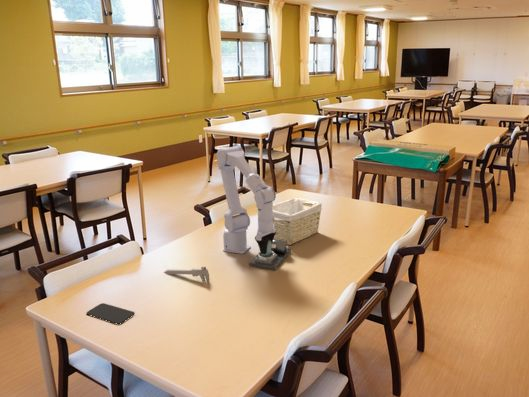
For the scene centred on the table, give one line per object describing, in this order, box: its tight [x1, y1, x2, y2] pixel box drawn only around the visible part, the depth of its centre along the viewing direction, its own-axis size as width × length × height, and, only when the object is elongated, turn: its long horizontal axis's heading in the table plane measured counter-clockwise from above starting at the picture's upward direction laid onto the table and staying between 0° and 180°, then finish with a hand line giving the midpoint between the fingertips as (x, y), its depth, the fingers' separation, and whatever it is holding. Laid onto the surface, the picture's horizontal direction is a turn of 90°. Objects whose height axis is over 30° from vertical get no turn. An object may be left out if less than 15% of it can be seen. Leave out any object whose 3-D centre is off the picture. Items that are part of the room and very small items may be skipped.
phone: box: [86, 302, 135, 325], centre depth 145 cm, size 7×1×15 cm
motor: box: [248, 239, 292, 271], centre depth 181 cm, size 11×18×6 cm, turn 157°
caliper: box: [164, 266, 210, 283], centre depth 168 cm, size 20×1×6 cm, turn 63°
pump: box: [260, 240, 276, 257], centre depth 176 cm, size 6×4×6 cm
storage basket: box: [273, 197, 323, 246], centre depth 204 cm, size 24×16×15 cm
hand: (265, 251), depth 177 cm, fingers closed on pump, 4 cm apart
